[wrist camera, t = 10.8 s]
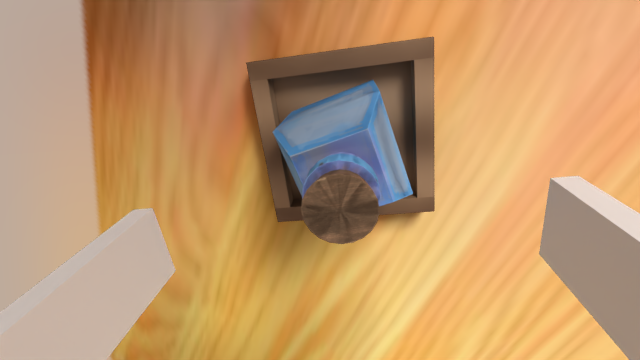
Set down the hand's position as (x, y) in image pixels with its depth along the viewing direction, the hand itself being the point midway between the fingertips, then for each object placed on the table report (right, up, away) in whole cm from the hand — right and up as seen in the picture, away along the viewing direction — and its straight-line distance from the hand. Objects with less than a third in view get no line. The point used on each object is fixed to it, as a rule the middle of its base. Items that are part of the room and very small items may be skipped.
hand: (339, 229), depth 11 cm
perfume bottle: (+1, +5, +13) cm, 14 cm away
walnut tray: (+1, +5, +14) cm, 15 cm away
